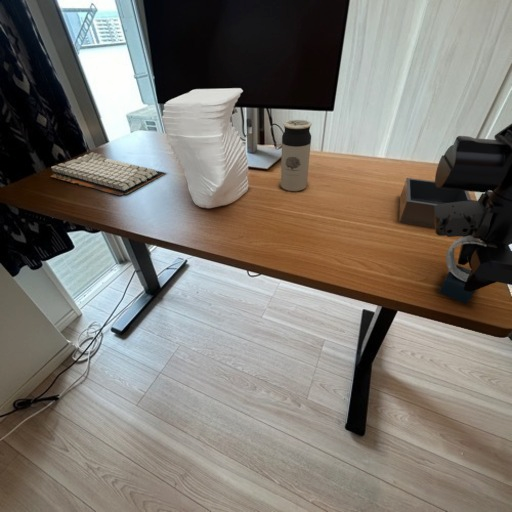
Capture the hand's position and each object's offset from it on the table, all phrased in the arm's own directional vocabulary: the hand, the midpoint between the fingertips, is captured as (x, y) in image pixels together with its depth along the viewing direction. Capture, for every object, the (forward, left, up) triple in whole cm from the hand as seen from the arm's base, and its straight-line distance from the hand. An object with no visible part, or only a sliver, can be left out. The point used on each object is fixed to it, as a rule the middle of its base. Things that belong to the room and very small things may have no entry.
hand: (463, 276), depth 47 cm
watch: (0, 0, -4) cm, 4 cm away
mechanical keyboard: (+104, -18, -4) cm, 105 cm away
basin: (+3, -27, -3) cm, 28 cm away
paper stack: (+61, -17, -4) cm, 63 cm away
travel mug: (+40, -31, -4) cm, 51 cm away
